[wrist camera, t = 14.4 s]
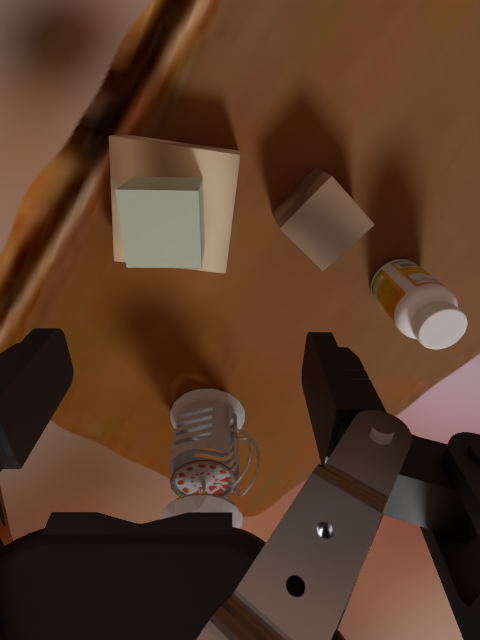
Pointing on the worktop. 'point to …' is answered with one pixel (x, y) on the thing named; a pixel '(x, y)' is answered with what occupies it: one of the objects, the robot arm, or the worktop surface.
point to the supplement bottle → (418, 304)
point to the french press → (206, 453)
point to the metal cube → (321, 218)
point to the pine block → (180, 161)
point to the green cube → (162, 222)
